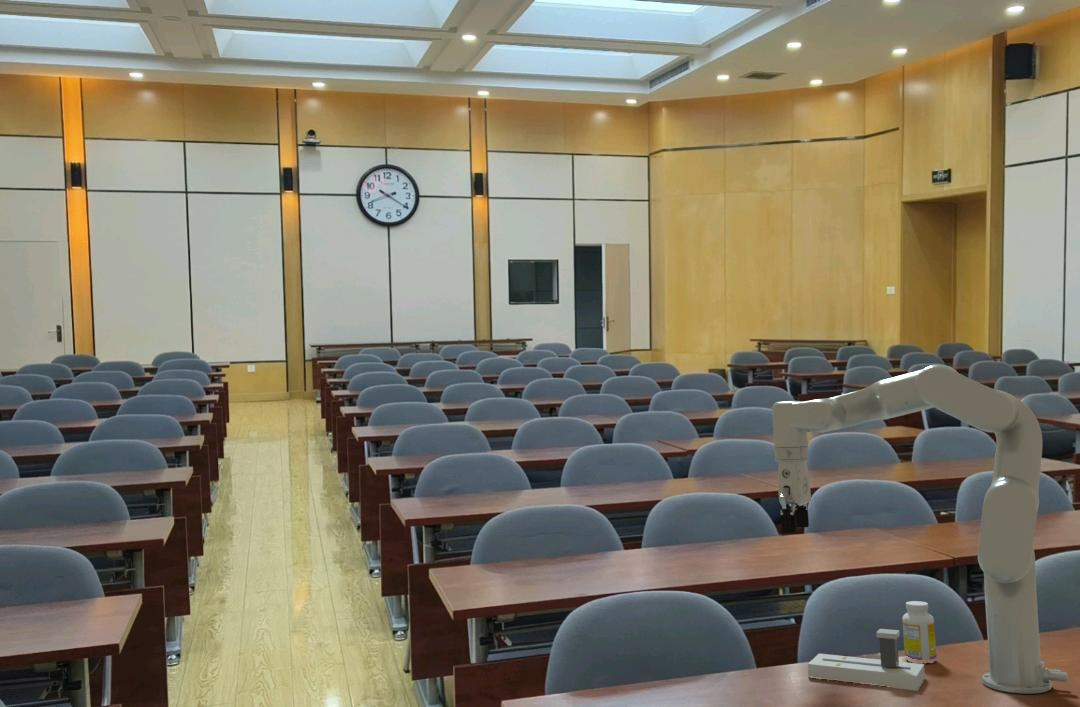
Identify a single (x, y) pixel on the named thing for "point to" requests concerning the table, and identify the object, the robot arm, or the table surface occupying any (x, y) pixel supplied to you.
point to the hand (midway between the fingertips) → (795, 529)
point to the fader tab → (888, 647)
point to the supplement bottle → (919, 632)
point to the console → (867, 671)
